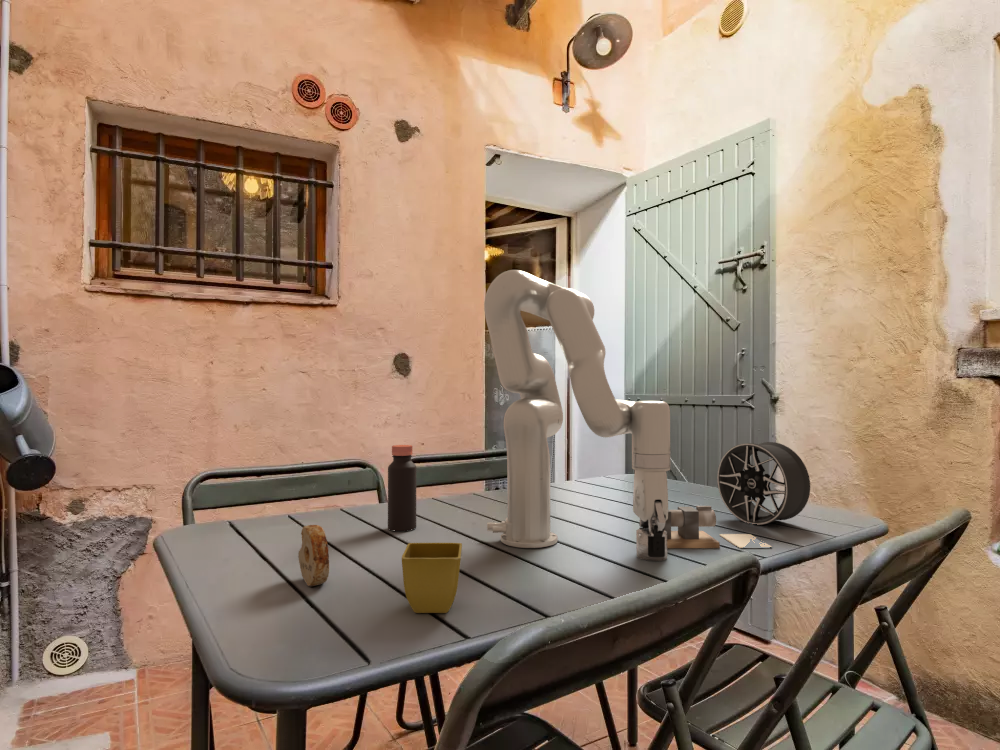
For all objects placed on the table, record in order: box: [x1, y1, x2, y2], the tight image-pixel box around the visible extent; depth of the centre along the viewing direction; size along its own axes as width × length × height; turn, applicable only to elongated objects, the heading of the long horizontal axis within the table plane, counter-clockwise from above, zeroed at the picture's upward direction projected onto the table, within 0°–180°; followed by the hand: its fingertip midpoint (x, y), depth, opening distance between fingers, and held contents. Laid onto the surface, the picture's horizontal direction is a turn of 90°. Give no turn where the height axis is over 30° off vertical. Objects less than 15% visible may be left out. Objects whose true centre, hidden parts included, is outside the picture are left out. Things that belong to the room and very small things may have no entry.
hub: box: [635, 527, 668, 562], centre depth 118 cm, size 6×6×5 cm
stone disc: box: [297, 524, 330, 587], centre depth 103 cm, size 10×4×10 cm, turn 30°
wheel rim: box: [716, 441, 811, 526], centre depth 148 cm, size 20×9×20 cm, turn 30°
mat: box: [719, 533, 773, 549], centre depth 129 cm, size 7×11×1 cm, turn 0°
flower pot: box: [401, 542, 463, 614], centre depth 91 cm, size 9×9×9 cm
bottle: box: [387, 444, 417, 532], centre depth 142 cm, size 7×7×20 cm
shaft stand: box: [654, 505, 721, 549], centre depth 129 cm, size 14×10×8 cm
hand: (651, 550), depth 118 cm, fingers closed on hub, 6 cm apart
